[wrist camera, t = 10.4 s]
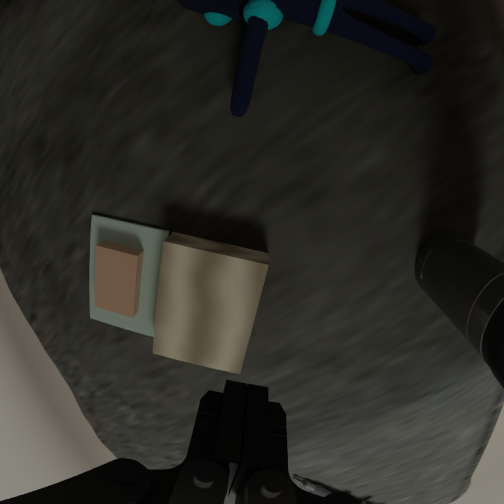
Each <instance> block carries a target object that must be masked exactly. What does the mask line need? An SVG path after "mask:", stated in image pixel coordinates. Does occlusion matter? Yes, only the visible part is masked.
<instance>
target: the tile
mask: <svg viewBox="0 0 504 504" xmlns="http://www.w3.org/2000/svg"><path fill="white" fill-rule="evenodd" d="M143 255H144V250H140V249H136V248H132V247H128V246H124V245H120V244H116V243H112V242H108V241H104V240H103V241H102V242H100V243H99V244H97V245H96V254H95V306H96V307H99V308H102V309H105V310H108V311H112V312H115V313H118V314H122V315H125V316H128V317H132V318H134V316H135V315H136V313H137V312H138V310H139V299H140V286H141V275H142V264H143Z"/></svg>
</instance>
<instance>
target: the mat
mask: <svg viewBox="0 0 504 504" xmlns="http://www.w3.org/2000/svg"><path fill="white" fill-rule="evenodd" d="M168 237H169V231H166V230H162V229H157V228H153V227H148V226H144V225H139V224H135V223H130V222H126V221H121V220H117V219H112V218H108V217H103V216H98V215H94V214H93V215H92V223H91V240H90V318H92V319H95V320H98V321H101V322H105V323H108V324H111V325H114V326H117V327H121V328H124V329H127V330H131V331H134V332H138V333H141V334H145V335H148V336H152V337H154V328H155V316H156V304H157V294H158V284H159V275H160V266H161V258H162V250H163V242H164V241H165V240H166V239H167V238H168ZM103 240H104V241H108V242H112V243H116V244H120V245H124V246H128V247H132V248H136V249H140V250H144V255H143V264H142V275H141V286H140V299H139V310H138V312H137V313H136V315H135V316H134V318H132V317H128V316H125V315H122V314H118V313H115V312H112V311H108V310H105V309H102V308H99V307H96V306H95V254H96V245H97V244H99V243H100V242H102V241H103Z"/></svg>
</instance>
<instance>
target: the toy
mask: <svg viewBox="0 0 504 504" xmlns="http://www.w3.org/2000/svg"><path fill="white" fill-rule="evenodd" d="M177 1H178V3H179V4H180V5H181V6H183V7H184V8H187V9H189V10H192V11H194V12H197V13H202V14H204V16H205V19H206V20H207V21H208V22H209V23H210V24H212V25H215V26H222V25H225V24H227V23H228V22H229V21H230V20H231V19H232V18H233V19H239V20H244V19H245V21H246V23H247V28H246V32H245V36H244V41H243V45H242V49H241V54H240V58H239V63H238V68H237V72H236V77H235V82H234V86H233V91H232V97H231V107H230V109H231V112H232V115H234V116H236V117H242V116H243V115H244V114H245V113H246V111H247V108H248V106H249V103H250V100H251V95H252V91H253V86H254V82H255V77H256V73H257V68H258V64H259V59H260V55H261V51H262V46H263V43H264V40H265V37H266V34H267V31H268V30H270V29H273V28H275V27H277V26H278V25H279V24H280V23H281V21H282V19H286V20H290V21H294V22H297V23H300V24H304V25H307V26H310V27H312V31H313V33H314V34H316V35H317V36H318V35H323V34H325V32H329V33H332V34H335V35H338V36H341V37H344V38H347V39H350V40H353V41H355V42H358V43H361V44H363V45H366V46H369V47H371V48H374V49H376V50H379V51H381V52H383V53H386V54H388V55H390V56H393V57H395V58H397V59H399V60H402V61H404V62H406V63H408V64H410V65H412V66H413V73H414V74H415V75H420V74H423V73H425V72H426V71H427V70H428V69H429V68H430V66H431V64H432V58H431V56H430V55H428V54H426V53H424V52H422V51H420V50H418V49H416V48H414V47H412V46H410V45H408V44H406V43H404V42H402V41H400V40H398V39H396V38H394V37H392V36H389V35H387V34H385V33H383V32H381V31H379V30H377V29H375V28H373V27H371V26H369V25H367V24H365V23H363V22H361V21H359V20H356V19H354V18H352V17H351V16H350V15H349V14H347V13H346V12H345V11H344V10H351V11H356V12H360V13H364V14H367V15H370V16H373V17H376V18H378V19H381V20H384V21H386V22H389V23H391V24H394V25H396V26H399V27H401V28H403V29H405V30H407V31H409V32H411V33H412V34H414V35H416V36H417V37H418V40H417V42H418V44H419V45H420V46H423V45H426V44H428V43H429V42H430V41H432V40H433V38H434V37H435V34H436V28H435V27H434V26H433V25H431V24H429V23H427V22H425V21H423V20H421V19H419V18H417V17H415V16H413V15H411V14H409V13H407V12H405V11H403V10H401V9H399V8H396V7H394V6H392V5H390V4H388V3H385V2H383V1H381V0H177ZM243 15H244V17H243Z"/></svg>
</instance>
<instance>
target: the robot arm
mask: <svg viewBox="0 0 504 504" xmlns="http://www.w3.org/2000/svg"><path fill="white" fill-rule="evenodd" d="M415 274H416V279H417V282H418V284H419V286H420V287H421V289H422V290H423V291H424V292H425V293H426V294H427V295H428V296H429V297H430V298H431V299H432V301H433V302H434V303H435V304H436V305H437V306H438V307H439V308H440V309H441V311H442V312H443V313H444V314H445V315H446V316H447V317H448V318H449V319H450V321H451V322H452V323H453V324H454V325H455V326H456V327H457V329H458V330H459V331H460V332H461V333H462V334H463V336H464V337H465V338H466V339H467V340H468V341H469V343H470V344H471V345H472V346H473V347H474V348H475V350H476V351H477V352H478V353H479V354H480V356H481V357H482V358H483V359H484V361H485V362H486V363H487V364H488V366H489V367H490V368H491V371H492V373H493V374H494V376H495V377H496V379H497V380H498V382H499V383H500V384H501V386H502V387H503V388H504V263H503V262H501V261H500V260H498V259H497V258H495V257H494V256H492V255H490V254H489V253H487V252H485V251H484V250H482V249H481V248H479V247H477V246H476V245H474V244H472V243H471V242H469V241H467V240H466V239H464V238H462V237H460V236H459V235H457V234H454V233H449V232H446V233H441V234H438V235H436V236H434V237H433V238H431V239H430V240H429V241H428V242H427V243H426V244H425V245H424V247H423V248H422V250H421V251H420V253H419V256H418V258H417V262H416V268H415ZM246 386H247V387H246ZM286 436H287V428H286V413H285V412H284V410H283V408H282V406H281V404H280V403H276V402H269V401H268V387H264V386H258V385H253V384H246V383H242V382H237V381H232V380H226V383H225V387H224V391H223V393H220V392H216V391H211V390H209V391H208V392H207V393H206V394H205V395H204V396H203V397H202V398H201V400H200V404H199V408H198V412H197V416H196V421H195V425H194V429H193V433H192V437H191V441H190V445H189V449H188V453H187V456H186V458H185V460H184V461H183V462H182V463H181V464H180V465H178V466H176V467H174V468H171V469H163V470H149V469H147V468H146V467H145V466H144V465H142V464H141V463H139V462H137V461H135V460H132V459H127V458H120V459H116V460H113V461H110V462H108V463H106V464H104V465H101V466H99V467H96V468H94V469H92V470H89V471H87V472H84V473H82V474H79V475H77V476H74V477H72V478H69V479H66V480H64V481H61V482H59V483H56V484H53V485H50V486H47V487H44V488H41V489H38V490H35V491H32V492H29V493H26V494H23V495H20V496H17V497H13V498H10V499H6V500H3V501H0V504H224V500H225V497H226V496H227V493H228V491H229V493H228V497H230V498H236V499H235V504H361V503H360V502H359V501H358V500H357V499H356V498H354V497H353V496H351V495H349V494H347V493H343V492H335V493H331V494H328V495H327V496H325V497H323V496H319V495H316V494H313V493H310V492H307V491H304V490H302V489H301V488H299V487H298V486H297V485H296V484H295V483H294V482H293V481H292V480H291V478H290V476H289V472H288V450H287V437H286Z"/></svg>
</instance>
